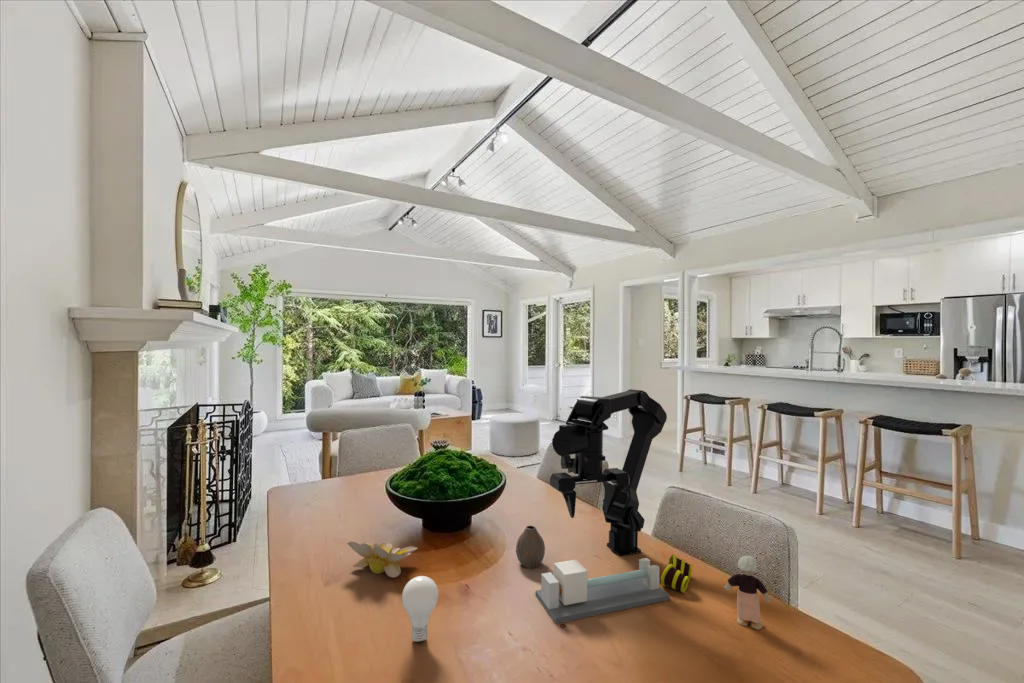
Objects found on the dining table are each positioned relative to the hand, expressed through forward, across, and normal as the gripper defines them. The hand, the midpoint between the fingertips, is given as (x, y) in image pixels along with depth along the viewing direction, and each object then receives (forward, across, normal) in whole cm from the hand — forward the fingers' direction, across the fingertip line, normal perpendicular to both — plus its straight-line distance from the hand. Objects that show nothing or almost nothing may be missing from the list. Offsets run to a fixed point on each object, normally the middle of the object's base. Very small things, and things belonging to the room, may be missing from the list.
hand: (589, 515), depth 108 cm
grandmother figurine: (+12, -18, +29) cm, 36 cm away
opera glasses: (+12, -15, +13) cm, 23 cm away
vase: (+12, +13, -5) cm, 19 cm away
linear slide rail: (+12, +4, +13) cm, 18 cm away
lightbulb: (+12, +42, +15) cm, 46 cm away
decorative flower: (+12, +46, -13) cm, 49 cm away
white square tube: (+11, +12, +13) cm, 20 cm away
